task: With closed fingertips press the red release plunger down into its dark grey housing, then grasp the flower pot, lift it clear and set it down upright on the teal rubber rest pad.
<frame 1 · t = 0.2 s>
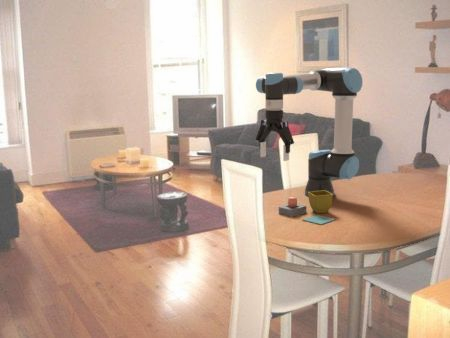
hand: (274, 158, 231), 27 cm above the table, fingers open, 13 cm apart
rest pad: (318, 220, 232), on the table
plunger: (292, 202, 243), point 5 cm above the table, slide at 0.0 cm
housing: (292, 212, 244), on the table
flower pot: (320, 212, 245), on the table
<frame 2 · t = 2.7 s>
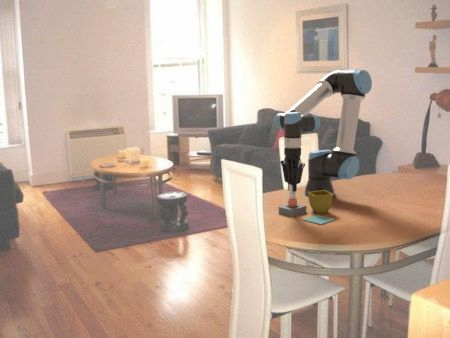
hand: (292, 197, 243), 7 cm above the table, fingers closed
plunger: (292, 202, 243), point 5 cm above the table, slide at 0.2 cm, touching gripper
everything else where it was.
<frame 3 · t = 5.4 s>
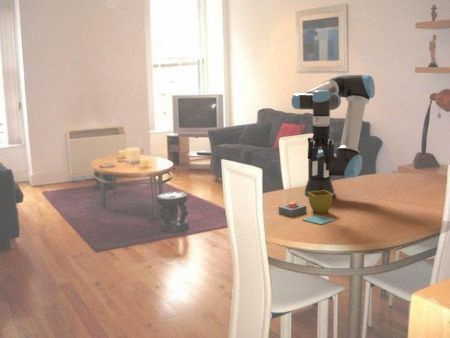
hand: (320, 175, 242), 17 cm above the table, fingers open, 6 cm apart
plunger: (292, 207, 244), point 2 cm above the table, slide at 2.5 cm
everything else where it was.
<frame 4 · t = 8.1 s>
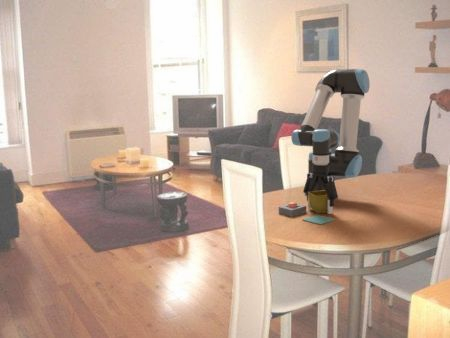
hand: (319, 210, 245), 0 cm above the table, fingers closed on flower pot, 11 cm apart
flower pot: (320, 212, 245), on the table, touching gripper
everything else where it was.
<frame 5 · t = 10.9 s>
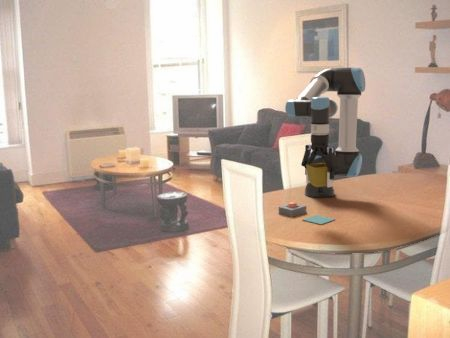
hand: (319, 184, 229), 16 cm above the table, fingers closed on flower pot, 11 cm apart
flower pot: (319, 186, 229), point 15 cm above the table, touching gripper
everything else where it was.
when the fingers open (3 cm above the table, at t = 13.9 s): flower pot drops 1 cm, resting on rest pad.
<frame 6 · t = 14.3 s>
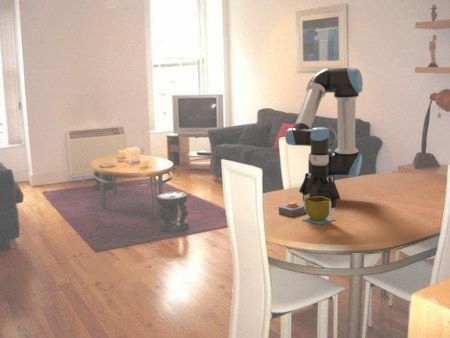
hand: (318, 212, 231), 4 cm above the table, fingers open, 13 cm apart
flower pot: (317, 219, 232), resting on rest pad
everything else where it was.
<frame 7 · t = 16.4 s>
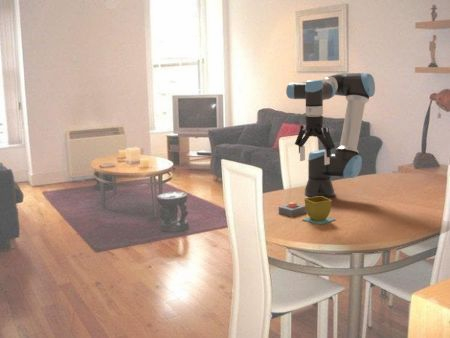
hand: (314, 162, 240), 23 cm above the table, fingers open, 13 cm apart
nothing on the table moved.
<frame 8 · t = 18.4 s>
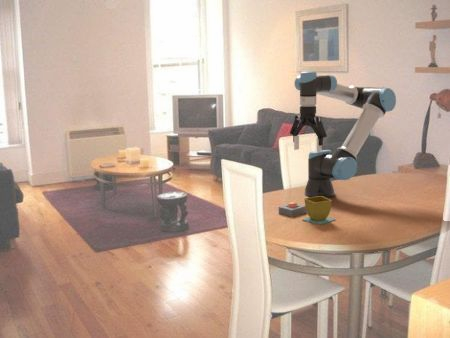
hand: (307, 150, 250), 27 cm above the table, fingers open, 13 cm apart
nothing on the table moved.
at the end: plunger slide at 2.5 cm; flower pot inside the target area on the rest pad (0.6 cm from its centre), point 0.2 cm above the rest pad's base; flower pot tilted 0° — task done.
